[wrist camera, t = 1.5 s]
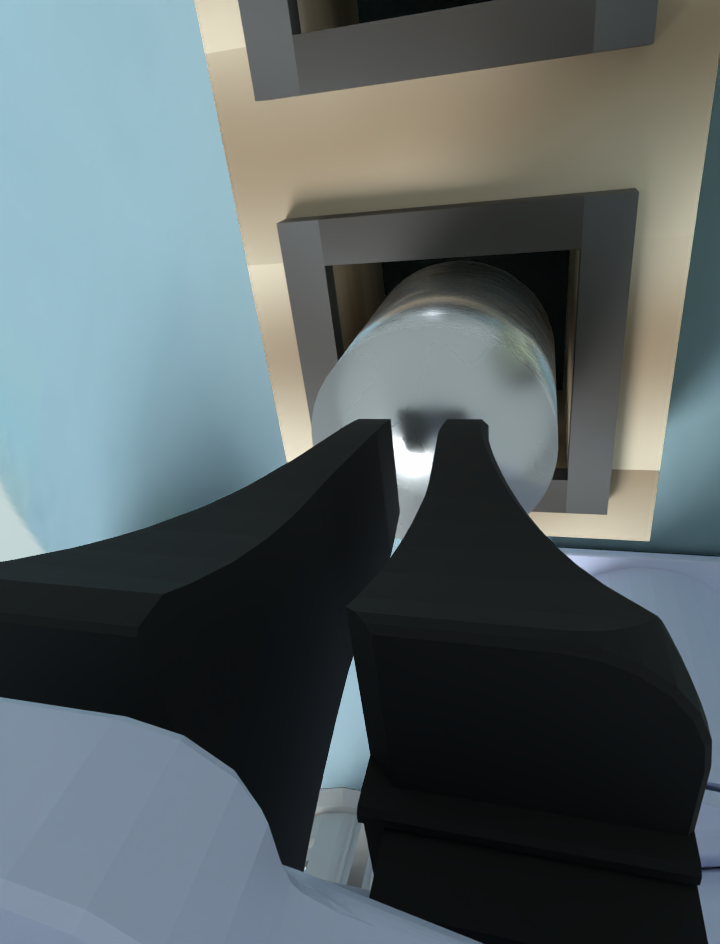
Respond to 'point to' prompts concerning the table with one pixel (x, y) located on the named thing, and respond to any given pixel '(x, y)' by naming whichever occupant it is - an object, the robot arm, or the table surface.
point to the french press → (339, 841)
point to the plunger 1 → (452, 377)
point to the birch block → (477, 194)
